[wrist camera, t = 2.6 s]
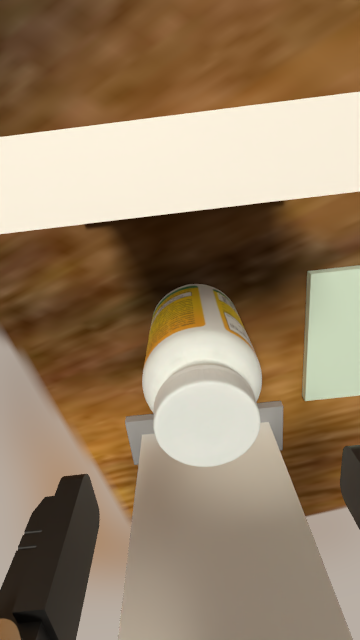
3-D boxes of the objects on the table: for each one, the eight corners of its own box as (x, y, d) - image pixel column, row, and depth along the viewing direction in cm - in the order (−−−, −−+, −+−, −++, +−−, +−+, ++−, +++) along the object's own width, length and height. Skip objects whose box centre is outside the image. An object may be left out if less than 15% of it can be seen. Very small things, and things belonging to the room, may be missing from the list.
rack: (65, 141, 17) (-188, 63, 5) (283, 113, 17) (562, -38, 5) (135, 458, 26) (102, 707, 14) (280, 444, 25) (376, 685, 13)
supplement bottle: (247, 291, 20) (303, 380, 12) (223, 365, 22) (256, 489, 14) (160, 273, 20) (149, 352, 11) (144, 351, 22) (125, 470, 13)
